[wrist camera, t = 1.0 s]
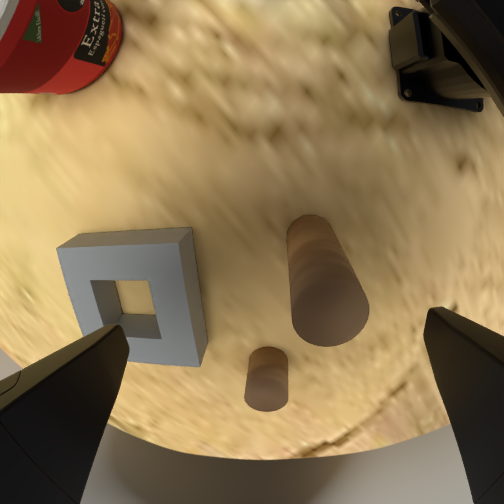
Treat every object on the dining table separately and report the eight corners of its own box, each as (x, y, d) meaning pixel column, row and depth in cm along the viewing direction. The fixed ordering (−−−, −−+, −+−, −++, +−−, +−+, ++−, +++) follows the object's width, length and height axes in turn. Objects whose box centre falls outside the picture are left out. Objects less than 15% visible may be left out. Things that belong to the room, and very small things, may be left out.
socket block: (191, 227, 20) (178, 242, 18) (208, 341, 24) (200, 367, 21) (78, 234, 21) (56, 248, 18) (106, 335, 24) (91, 356, 22)
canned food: (136, 64, 17) (18, 26, 6) (46, 114, 18) (-74, 127, 8) (116, -20, 14) (22, -82, 4) (33, 33, 15) (-72, 16, 5)
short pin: (287, 346, 23) (288, 383, 20) (287, 374, 24) (287, 411, 21) (248, 346, 24) (242, 383, 20) (250, 375, 25) (245, 411, 21)
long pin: (333, 214, 19) (373, 278, 11) (332, 259, 20) (364, 344, 12) (285, 215, 20) (291, 281, 11) (287, 260, 21) (291, 348, 12)
